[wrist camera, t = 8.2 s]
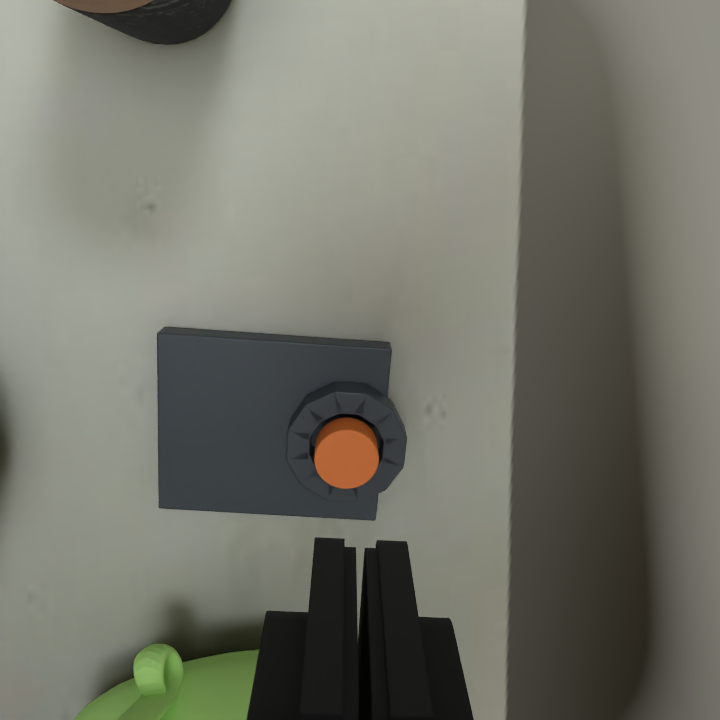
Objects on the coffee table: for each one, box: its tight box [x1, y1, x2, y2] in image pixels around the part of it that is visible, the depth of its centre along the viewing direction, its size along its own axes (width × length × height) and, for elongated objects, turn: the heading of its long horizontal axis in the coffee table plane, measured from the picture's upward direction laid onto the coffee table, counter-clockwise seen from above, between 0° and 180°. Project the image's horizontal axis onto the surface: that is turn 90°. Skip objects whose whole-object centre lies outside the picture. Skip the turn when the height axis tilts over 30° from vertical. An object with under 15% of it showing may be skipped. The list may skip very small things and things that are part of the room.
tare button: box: [314, 418, 379, 489], centre depth 34 cm, size 3×3×2 cm
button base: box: [157, 327, 407, 520], centre depth 35 cm, size 13×10×3 cm
